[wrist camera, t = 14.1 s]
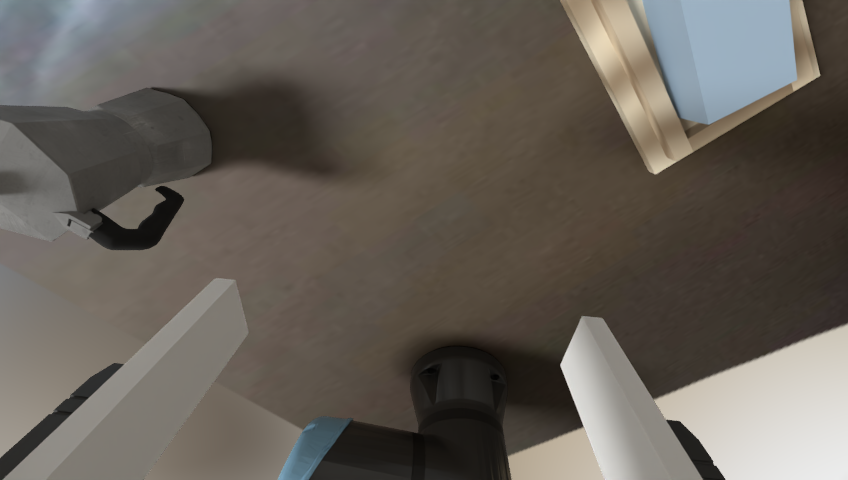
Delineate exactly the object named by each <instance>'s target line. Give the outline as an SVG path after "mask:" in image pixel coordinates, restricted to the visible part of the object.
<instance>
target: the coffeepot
mask: <svg viewBox="0 0 848 480" xmlns="http://www.w3.org/2000/svg"><path fill="white" fill-rule="evenodd" d="M211 159H212V141H211V137H210V131H209V129H208V128H207V126H206V125H205V123H204V122H203V120H202V119H201V117H200V116H199V115H198V114H197V112H196V111H195V110H194V109H193V108H192V107H190V106H189V105H188V104H187V103H186V101H185V100H184V99H182V98H179V97H176V96H173V95H171V94H168V93H164V92H160V91H156V90H153V89H150V88H145V89H142V90H139V91H136V92H133V93H130V94H127V95H125V96H122V97H119V98H116V99H113V100H110V101H108V102H105V103H102V104H99V105H96V106H95V107H93V108H91V109H90V110H88V111H85V112H84V111H80V110H76V109H72V108H68V107H44V106H7V105H0V228H1V229H5V230H9V231H12V232H16V233H20V234H24V235H28V236H32V237H36V238H39V239H43V240H47V241H51V242H52V241H54V240H55V239H57V238H58V237H60V236H61V235H63V234H64V233H65V232H67V231H68V230H70V231H71V232H73V233H75V234H77V235H79V236H81V237H83V238H84V239H86V240H87V239H89V238H92V239H93V240H95V241H96V242H97V243H99V244H100V245H102V246H103V247H105V248H107V249H110V250H144V249H149V248H151V247H153V246H155V245H157V243H158V242H159V241H160V239H161V237H162V236H163V234H164V232H165V230H166V229H167V227H168V226H169V224H170V223H171V221H172V219H173V218H174V216H175V215H176V213H177V212H178V210H179V209H180V207H181V205H182V204H183V202H184V198H183V197H182V196H181V195H180V194H179V193H177V192H175V191H174V190H172V189H170V188H168V187H165V186H159V187H157V188H156V189H155V190H156V191H157V192H159V193H160V194H162V195H163V196H164V197H165V198H166V200H165V201H163V202H161V203H159V204H158V205H156V206H155V208H154V211H153V213H152V214H151V215H150V216H149V217H147V218H146V219H145V220H143V221H142V222H141V223H140V225H139V227H138V229H125V228H123V227H121V226H119V225H118V224H117V223H115V222H114V221H112V220H111V219H110V218H108V217H107V216H105V215H104V214H102V213H101V212H99V211H100V210H101V209H103V208H105V207H106V206H108V205H109V204H111V203H113V202H114V201H116V200H117V199H119V198H120V197H122V196H124V195H125V194H127V193H128V192H130V191H131V190H133V189H134V188H136V187H146V186H150V185H155V184H160V183H165V182H170V181H175V180H180V179H185V178H189V177H191V176H192V175H194V174H196V173H197V172H199V171H201V170H202V169H203V168H205V167H206V166H208V165H210V164H211Z"/></svg>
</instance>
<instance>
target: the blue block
mask: <svg viewBox="0 0 848 480" xmlns="http://www.w3.org/2000/svg"><path fill="white" fill-rule="evenodd" d="M642 2H643V6H644V10H645V13H646V17H647V21H648V24H649V28H650V32H651V35H652V39H653V43H654V46H655V50H656V54H657V57H658V61H659V65H660V69H661V72H662V76H663V80H664V83H665V87H666V91H667V93H668V96H669V98H670V100H671V102H672V105H673V107H674V109H675V112H676V114H677V116H678V118H682V119H686V120H690V121H694V122H699V123H703V124H707V125H710V124H711V123H713V122H715V121H717V120H719V119H721V118H723V117H725V116H727V115H729V114H731V113H733V112H735V111H737V110H739V109H741V108H743V107H745V106H747V105H749V104H751V103H753V102H755V101H757V100H759V99H760V98H762V97H764V96H766V95H768V94H770V93H772V92H774V91H776V90H778V89H780V88H782V87H784V86H786V85H788V84H790V83H792V82H794V81H796V80H797V72H796V62H795V52H794V42H793V32H792V22H791V12H790V2H789V0H642Z"/></svg>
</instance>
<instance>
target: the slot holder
mask: <svg viewBox="0 0 848 480" xmlns="http://www.w3.org/2000/svg"><path fill="white" fill-rule="evenodd" d="M560 1H561V3H562V5H563V7H564V9H565V11H566V13H567V15H568V17H569V19H570V21H571V22H572V24H573V26H574V28H575V30H576V32H577V34H578V36H579V38H580V40H581V42H582V44H583V46H584V47H585V49H586V51H587V53H588V55H589V57H590V59H591V61H592V63H593V65H594V67H595V69H596V71H597V72H598V74H599V76H600V78H601V80H602V82H603V84H604V86H605V88H606V90H607V92H608V94H609V96H610V97H611V99H612V101H613V103H614V105H615V107H616V109H617V111H618V113H619V115H620V117H621V119H622V121H623V122H624V124H625V126H626V128H627V130H628V132H629V134H630V136H631V138H632V140H633V142H634V144H635V146H636V147H637V149H638V151H639V153H640V155H641V157H642V159H643V161H644V163H645V165H646V167H647V169H648V171H650V172H652V173H653V174H655V175H656V174H657V173H659V172H661V171H662V170H664V169H666V168H667V167H669V166H671V165H672V164H674V163H676V162H677V161H679V160H681V159H682V158H684V157H686V156H687V155H689V154H691V153H692V152H694V151H696V150H697V149H699V148H701V147H702V146H704V145H706V144H707V143H709V142H711V141H712V140H714V139H716V138H717V137H719V136H721V135H722V134H724V133H726V132H727V131H729V130H731V129H732V128H734V127H736V126H737V125H739V124H741V123H742V122H744V121H746V120H747V119H749V118H751V117H752V116H754V115H756V114H757V113H759V112H761V111H762V110H764V109H766V108H767V107H769V106H771V105H772V104H774V103H776V102H777V101H779V100H781V99H782V98H784V97H786V96H787V95H789V94H791V93H792V92H794V91H796V90H797V89H799V88H801V87H802V86H804V85H806V84H807V83H809V82H811V81H812V80H814V79H816V78H817V77H819V76H820V72H819V68H818V64H817V59H816V55H815V51H814V47H813V43H812V39H811V34H810V30H809V26H808V22H807V18H806V14H805V9H804V5H803V1H802V0H789V2H790V12H791V22H792V32H793V42H794V52H795V62H796V72H797V80H796V81H794V82H792V83H790V84H788V85H786V86H784V87H782V88H780V89H778V90H776V91H774V92H772V93H770V94H768V95H766V96H764V97H762V98H760V99H759V100H757V101H755V102H753V103H751V104H749V105H747V106H745V107H743V108H741V109H739V110H737V111H735V112H733V113H731V114H729V115H727V116H725V117H723V118H721V119H719V120H717V121H715V122H713V123H711V124H710V125H707V124H703V123H699V122H694V121H690V120H686V119H682V118H678V116H677V114H676V112H675V109H674V107H673V105H672V102H671V100H670V98H669V96H668V93H667V91H666V87H665V83H664V80H663V76H662V72H661V69H660V65H659V61H658V57H657V54H656V50H655V46H654V43H653V39H652V35H651V32H650V28H649V24H648V21H647V17H646V13H645V10H644V6H643V2H642V0H560Z"/></svg>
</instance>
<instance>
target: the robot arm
mask: <svg viewBox="0 0 848 480" xmlns="http://www.w3.org/2000/svg"><path fill="white" fill-rule="evenodd" d="M248 333H249V331H248V327H247V324H246V320H245V316H244V312H243V308H242V304H241V300H240V296H239V292H238V288H237V284H236V280H230V279H220V278H215V279H214V280H213V281H212V282H211V283H209V284H208V285H207V286H206V287H205V288H204V289H203V290H202V291H201V292H200V293H199V294H198V295H197V296H196V297H195V298H194V299H193V300H192V301H191V302H189V303H188V304H187V305H186V306H185V307H184V308H183V309H182V310H181V311H180V312H179V313H178V314H177V315H176V316H175V317H174V318H173V319H172V320H170V321H169V322H168V323H167V324H166V325H165V326H164V327H163V328H162V329H161V330H160V331H159V332H158V333H157V334H156V335H155V336H154V337H153V338H151V339H150V340H149V341H148V342H147V343H146V344H145V345H144V346H143V347H142V348H141V349H140V350H139V351H138V352H137V353H136V354H135V355H134V356H133V357H131V359H129V360H128V361H127V362H126V363H125V364H117V363H114V364H112V365H110V366H109V367H107V368H106V369H104V370H102V371H100V372H99V373H97V374H95V375H94V376H92V377H90V378H89V379H88V380H87V381H86V382H85V383H84V384H82V385H81V386H80V387H79V388H78V389H77V390H76V391H75V392H74V393H72V394H71V396H70V398H69V399H66V400H65V401H63V402H62V403H61V404H60V405H59V406H58V407H57V408H56V409H55V410H54V412H53V413H52V414H49V415H48V416H47V417H46V418H45V419H43V421H41V422H40V423H39V424H38V425H37V426H36V427H34V428H33V429H32V430H31V431H30V432H29V433H28V434H27V435H26V436H24V437H23V438H22V439H21V440H20V441H19V442H18V443H17V444H15V445H14V446H13V447H12V448H11V449H10V450H9V451H8V452H6V453H5V454H4V455H3V456H2V457H1V458H0V480H144V479H145V477H146V476H147V474H148V473H149V472H150V470H151V469H152V467H153V466H154V465H155V463H156V462H157V460H158V459H159V457H160V456H161V455H162V453H163V452H164V451H165V449H166V448H167V446H168V445H169V444H170V442H171V441H172V439H173V438H174V436H175V435H176V434H177V432H178V431H179V430H180V428H181V427H182V426H183V424H184V423H185V421H186V420H187V419H188V417H189V416H190V414H191V413H192V411H193V410H194V409H195V407H196V406H197V405H198V403H199V402H200V400H201V399H202V397H203V396H204V395H205V393H206V392H207V391H208V389H209V388H210V386H211V385H212V384H213V382H214V381H215V379H216V378H217V377H218V375H219V374H220V372H221V371H222V370H223V368H224V367H225V366H226V364H227V363H228V361H229V360H230V359H231V357H232V356H233V354H234V353H235V352H236V350H237V349H238V347H239V346H240V345H241V343H242V342H243V340H244V339H245V338H246V336H247V335H248ZM560 366H561V369H562V371H563V374H564V376H565V379H566V382H567V384H568V387H569V389H570V392H571V395H572V397H573V400H574V402H575V405H576V407H577V410H578V413H579V415H580V418H581V420H582V423H583V426H584V428H585V431H586V433H587V436H588V438H589V441H590V443H591V446H592V449H593V451H594V454H595V457H596V459H597V462H598V464H599V467H600V469H601V472H602V475H603V477H604V480H725V478H724V477H723V475H722V474H721V472H720V471H719V469H718V468H717V466H714V464H713V460H712V459H711V457H710V456H709V454H708V453H707V452H706V450H705V449H704V447H703V446H702V444H701V443H700V441H699V440H698V439H697V438H696V437H695V436H694V435H693V434H692V433H691V432H690V431H689V430H688V429H687V428H686V427H685V426H684V425H683V424H682V423H681V422H680V421H672V420H666V419H665V418H664V416H663V415H662V413H661V411H660V410H659V408H658V407H657V405H656V403H655V402H654V400H653V399H652V397H651V395H650V394H649V392H648V390H647V389H646V387H645V386H644V384H643V382H642V381H641V379H640V378H639V376H638V374H637V373H636V371H635V370H634V368H633V366H632V365H631V363H630V362H629V360H628V358H627V357H626V355H625V354H624V352H623V350H622V349H621V347H620V346H619V344H618V342H617V341H616V339H615V338H614V336H613V334H612V333H611V331H610V329H609V328H608V326H607V325H606V323H605V321H604V320H603V318H596V317H586V316H582V318H581V320H580V322H579V324H578V327H577V329H576V331H575V333H574V336H573V338H572V340H571V342H570V344H569V347H568V349H567V351H566V353H565V356H564V358H563V360H562V362H561V365H560ZM410 393H411V397H412V401H413V405H414V409H415V413H416V417H417V421H418V426H419V427H418V433H414V432H409V431H404V430H399V429H394V428H389V427H383V426H378V425H373V424H368V423H363V422H357V421H353V418H348V419H342V418H334V417H327V416H322V417H318V418H316V419H314V420H313V421H311V422H310V423H309V424H308V425H307V427H306V428H305V429H304V430H303V432H302V434H301V435H300V437H299V439H298V440H297V442H296V444H295V446H294V447H293V449H292V451H291V453H290V455H289V457H288V459H287V461H286V463H285V465H284V467H283V469H282V471H281V473H280V476H279V478H278V480H511V474H510V468H509V463H508V457H507V451H506V445H505V440H504V433H503V427H502V425H503V419H504V412H505V406H506V400H507V393H508V385H507V380H506V375H505V371H504V369H503V367H502V365H501V364H500V363H499V362H498V361H497V360H496V359H495V358H494V357H493V356H491V355H489V354H488V353H486V352H483V351H481V350H478V349H474V348H469V347H458V346H457V347H446V348H441V349H437V350H434V351H432V352H430V353H428V354H426V355H424V356H423V357H422V358H421V359H419V360H418V361H417V363H416V364H415V365H414V367H413V369H412V373H411V381H410Z"/></svg>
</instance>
